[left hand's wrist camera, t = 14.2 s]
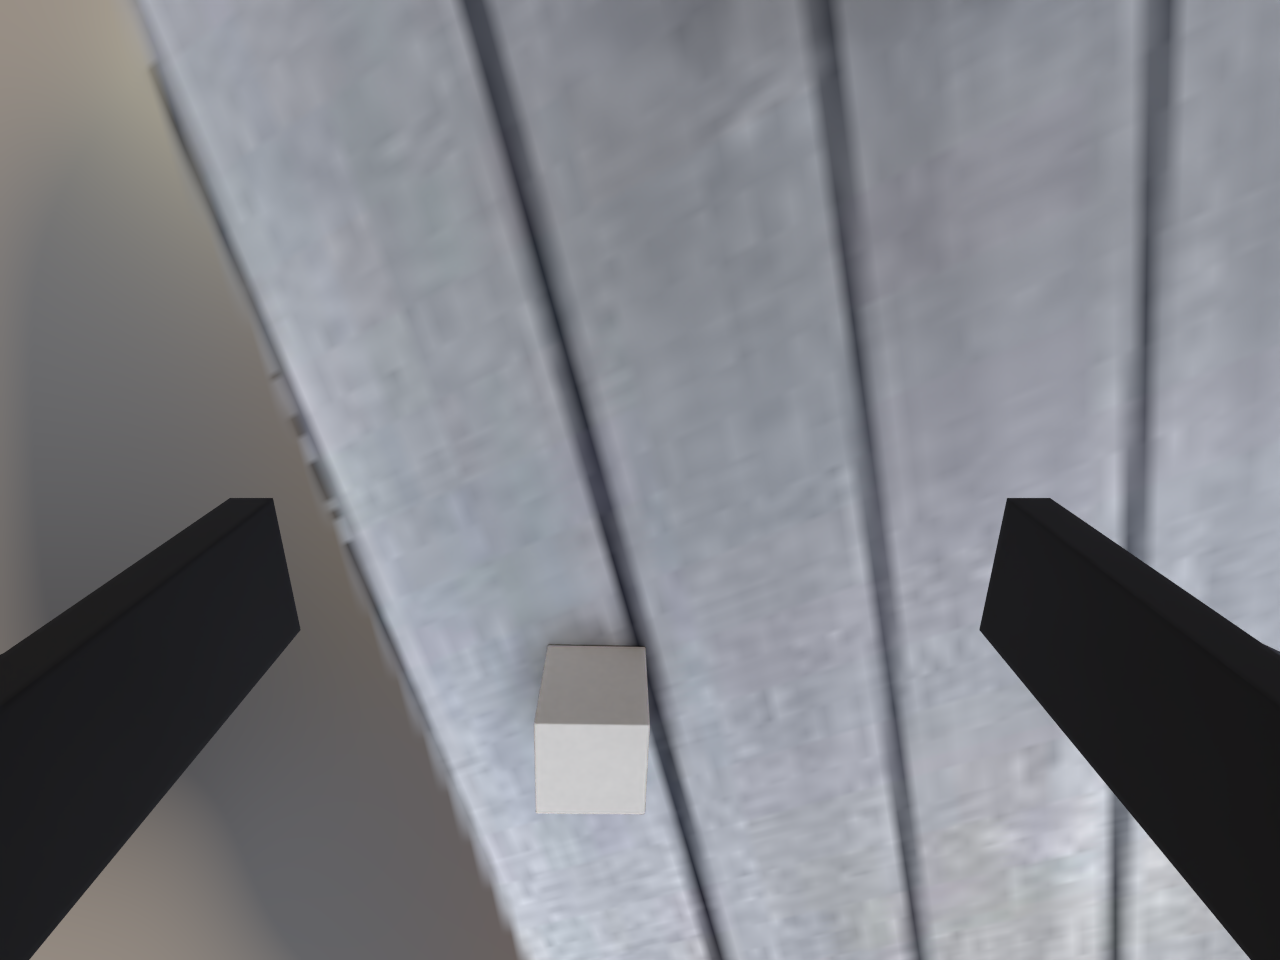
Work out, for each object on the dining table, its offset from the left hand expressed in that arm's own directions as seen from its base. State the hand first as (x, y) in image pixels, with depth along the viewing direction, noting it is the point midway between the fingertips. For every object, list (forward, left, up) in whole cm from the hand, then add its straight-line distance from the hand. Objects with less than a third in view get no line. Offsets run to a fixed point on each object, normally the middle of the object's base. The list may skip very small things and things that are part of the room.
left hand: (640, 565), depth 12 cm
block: (+13, +3, -14) cm, 19 cm away
